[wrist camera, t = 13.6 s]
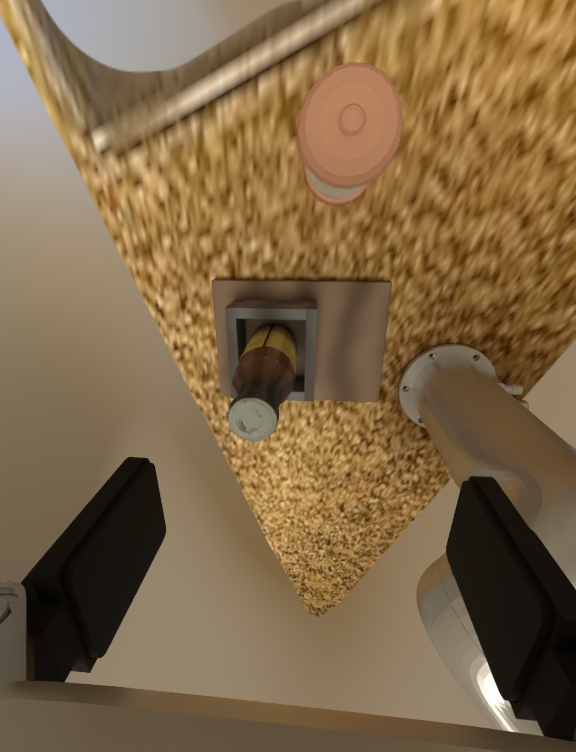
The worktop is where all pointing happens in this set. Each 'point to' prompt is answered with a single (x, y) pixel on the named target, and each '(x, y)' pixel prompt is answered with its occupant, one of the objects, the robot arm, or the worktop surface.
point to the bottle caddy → (309, 332)
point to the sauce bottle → (263, 382)
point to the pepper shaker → (348, 131)
